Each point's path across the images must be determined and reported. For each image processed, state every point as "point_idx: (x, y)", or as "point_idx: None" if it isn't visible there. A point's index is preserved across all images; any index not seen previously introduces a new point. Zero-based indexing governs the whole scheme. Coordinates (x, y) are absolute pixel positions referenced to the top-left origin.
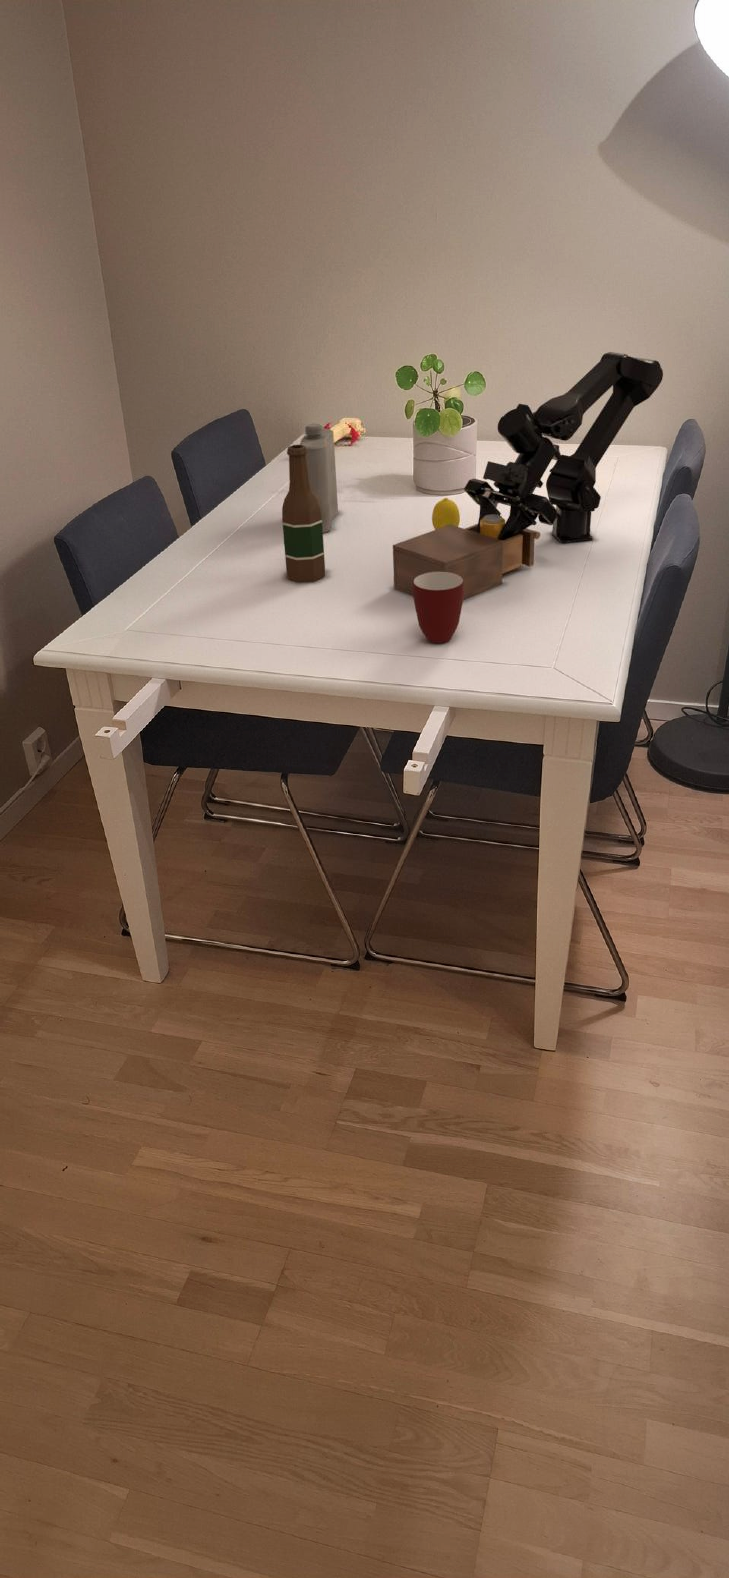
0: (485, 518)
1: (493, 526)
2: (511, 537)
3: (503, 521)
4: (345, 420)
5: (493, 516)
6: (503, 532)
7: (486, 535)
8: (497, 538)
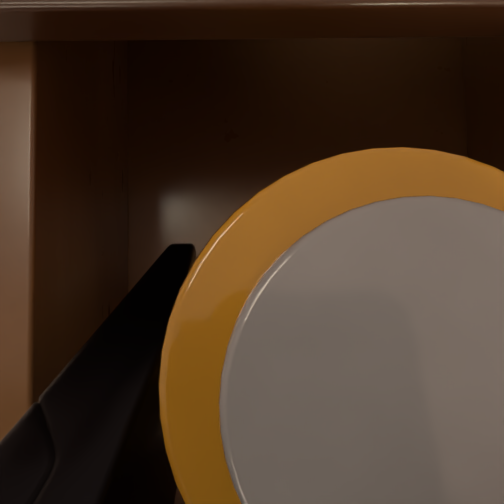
0: (497, 235)
1: (224, 222)
2: (23, 362)
3: (211, 493)
4: None
5: (463, 459)
6: (116, 328)
7: (150, 3)
8: (184, 266)
